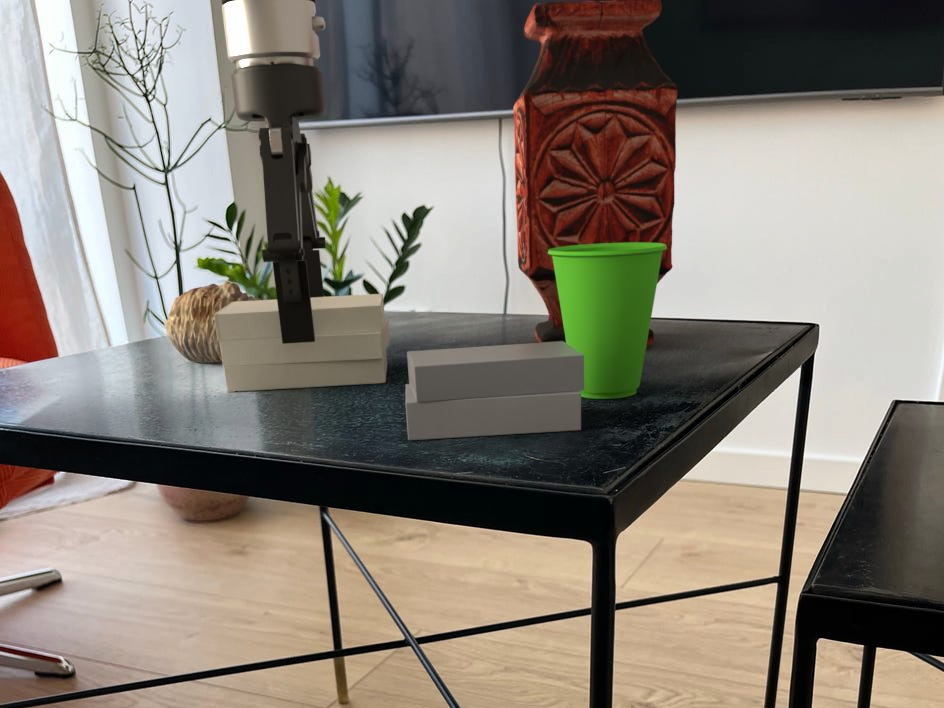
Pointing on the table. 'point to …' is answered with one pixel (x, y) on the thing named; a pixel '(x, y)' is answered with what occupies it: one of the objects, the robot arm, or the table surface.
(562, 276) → the cup
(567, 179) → the vase
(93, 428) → the table surface
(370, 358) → the white pile
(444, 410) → the grey books
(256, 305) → the white book
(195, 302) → the seashell
